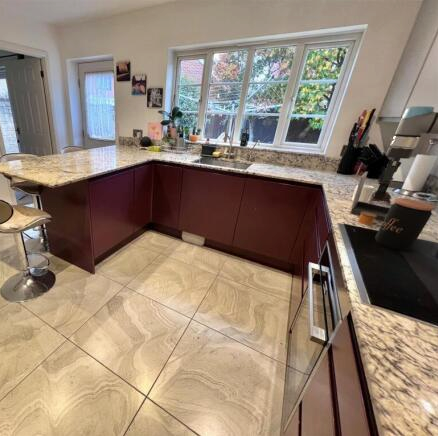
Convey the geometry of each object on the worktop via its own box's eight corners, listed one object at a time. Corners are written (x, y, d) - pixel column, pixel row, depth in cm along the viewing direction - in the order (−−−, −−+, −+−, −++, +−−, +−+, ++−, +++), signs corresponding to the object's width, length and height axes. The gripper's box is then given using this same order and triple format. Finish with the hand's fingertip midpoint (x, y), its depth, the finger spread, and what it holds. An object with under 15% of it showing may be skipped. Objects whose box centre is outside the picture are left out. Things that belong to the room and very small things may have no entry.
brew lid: (367, 171, 126) (365, 171, 126) (363, 176, 113) (361, 176, 114) (358, 200, 132) (356, 199, 132) (353, 208, 119) (351, 207, 120)
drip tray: (391, 214, 124) (394, 208, 122) (389, 224, 111) (392, 218, 110) (355, 205, 134) (357, 200, 132) (349, 214, 121) (351, 208, 120)
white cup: (369, 204, 136) (377, 188, 132) (353, 202, 138) (360, 186, 134) (362, 200, 143) (370, 185, 139) (347, 198, 145) (354, 183, 141)
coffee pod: (374, 227, 108) (379, 217, 106) (360, 225, 109) (364, 215, 107) (367, 222, 113) (372, 212, 111) (354, 220, 114) (358, 210, 112)
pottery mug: (394, 207, 136) (395, 196, 132) (373, 211, 140) (373, 200, 136) (383, 195, 145) (384, 185, 141) (364, 200, 149) (364, 189, 145)
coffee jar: (368, 236, 99) (388, 196, 92) (398, 240, 97) (421, 200, 89) (383, 248, 90) (406, 205, 82) (417, 253, 87) (444, 210, 80)
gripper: (390, 144, 106) (371, 189, 115) (387, 148, 90) (364, 199, 99) (414, 146, 101) (391, 192, 110) (414, 151, 86) (388, 204, 94)
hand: (378, 196), depth 105 cm, fingers open, 13 cm apart
